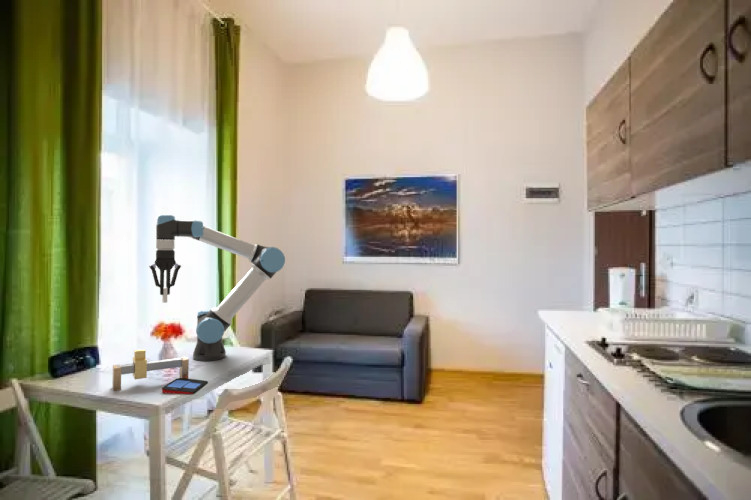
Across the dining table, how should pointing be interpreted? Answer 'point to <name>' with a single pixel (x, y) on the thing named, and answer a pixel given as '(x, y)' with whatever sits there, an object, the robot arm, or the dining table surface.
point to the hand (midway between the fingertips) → (164, 302)
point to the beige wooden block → (140, 364)
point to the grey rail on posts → (150, 369)
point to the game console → (184, 386)
